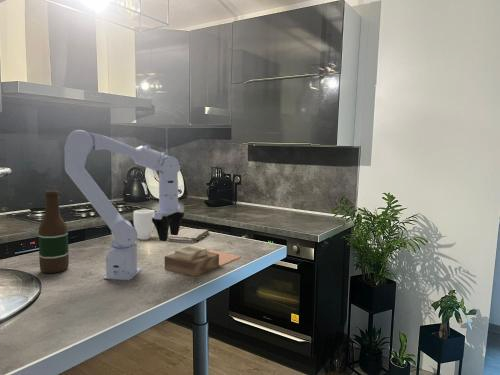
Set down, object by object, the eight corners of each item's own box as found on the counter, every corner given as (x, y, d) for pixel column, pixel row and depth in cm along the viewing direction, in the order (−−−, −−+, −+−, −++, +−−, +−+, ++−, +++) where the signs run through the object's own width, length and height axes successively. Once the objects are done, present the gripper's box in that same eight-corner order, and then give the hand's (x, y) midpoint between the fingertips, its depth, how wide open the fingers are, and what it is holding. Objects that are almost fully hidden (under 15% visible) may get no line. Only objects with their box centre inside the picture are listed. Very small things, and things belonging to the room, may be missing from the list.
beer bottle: (74, 266, 113) (72, 190, 111) (55, 274, 106) (52, 192, 103) (54, 263, 115) (51, 188, 113) (33, 271, 108) (30, 191, 105)
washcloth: (165, 242, 145) (165, 235, 145) (184, 232, 163) (184, 226, 162) (193, 245, 143) (193, 237, 142) (209, 234, 160) (209, 228, 160)
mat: (220, 266, 117) (220, 265, 117) (189, 259, 124) (189, 257, 123) (241, 257, 127) (241, 256, 127) (211, 251, 134) (211, 250, 134)
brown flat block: (194, 277, 107) (194, 263, 106) (164, 268, 113) (164, 256, 113) (218, 266, 117) (219, 254, 116) (190, 259, 123) (190, 247, 123)
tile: (189, 260, 109) (189, 254, 109) (175, 257, 112) (175, 250, 112) (206, 254, 116) (206, 248, 116) (192, 251, 119) (192, 245, 119)
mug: (130, 240, 146) (129, 212, 145) (139, 235, 154) (138, 208, 153) (158, 242, 144) (158, 213, 143) (166, 237, 153) (166, 210, 151)
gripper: (169, 198, 104) (170, 244, 106) (190, 192, 118) (190, 233, 120) (147, 197, 106) (148, 242, 107) (170, 191, 120) (170, 231, 121)
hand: (169, 237), depth 114 cm, fingers open, 7 cm apart
